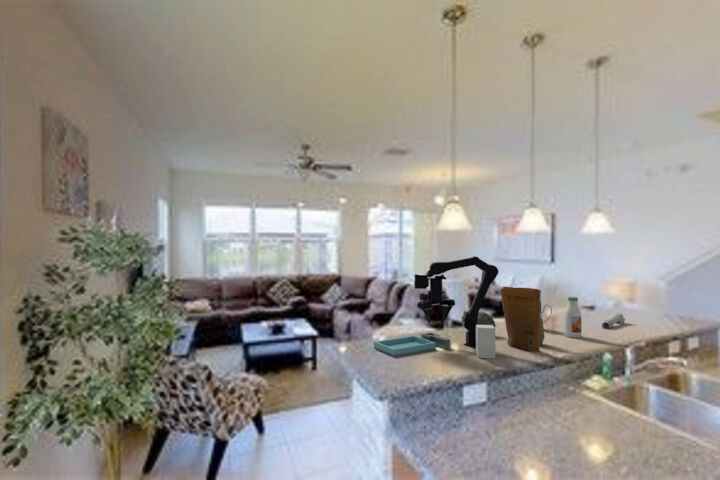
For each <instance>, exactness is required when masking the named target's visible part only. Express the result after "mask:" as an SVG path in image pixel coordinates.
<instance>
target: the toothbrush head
mask: <svg viewBox="0 0 720 480" xmlns="http://www.w3.org/2000/svg"><path fill="white" fill-rule="evenodd" d="M625 321H626V318H625V317H624V314H623V313H622V312H616V313H615V315H614V316H612V317H610V318H608V319H607V320H604V321H603V323H602V324H601V327H602V328H603V329H605V330H609V329H611V328H612V327H613V325H615V324H617V325H624V324H625Z"/></svg>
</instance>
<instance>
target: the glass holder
mask: <svg viewBox="0 0 720 480" xmlns="http://www.w3.org/2000/svg"><path fill="white" fill-rule="evenodd" d="M546 307H549V308H550V315H549V316H548V318H547V319H546V320H545V321H543V324H545V323H546V322H547V321H549V320H550V318H551V316H552V314H553V308H552V306H551V305H548V304H547V305H544V306H543V309H542V301H541V300H540V314H541V317H540V318H541V319H542V318H543V317H542V314H543V313H544V312H545V308H546ZM542 310H543V311H542ZM542 320H543V319H542Z"/></svg>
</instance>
